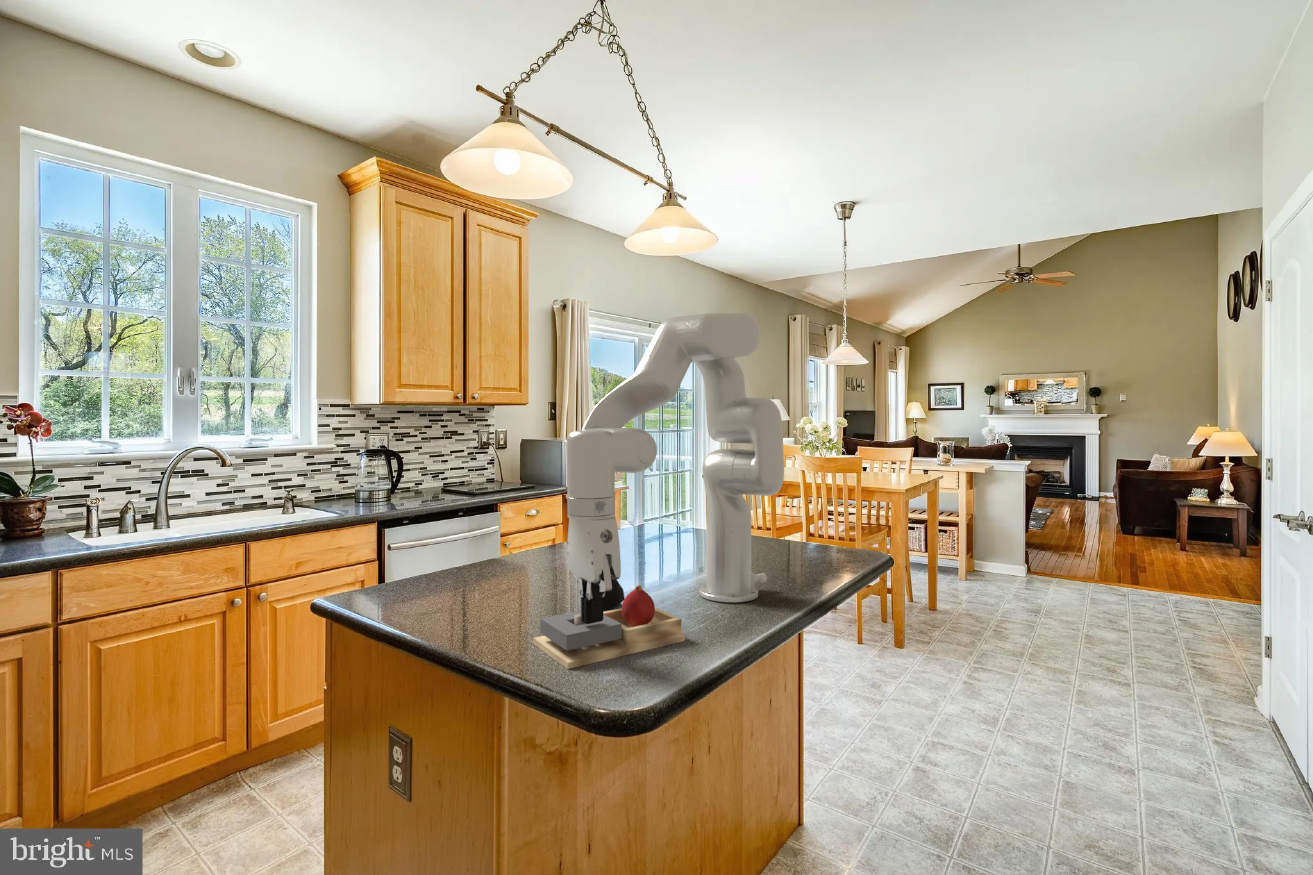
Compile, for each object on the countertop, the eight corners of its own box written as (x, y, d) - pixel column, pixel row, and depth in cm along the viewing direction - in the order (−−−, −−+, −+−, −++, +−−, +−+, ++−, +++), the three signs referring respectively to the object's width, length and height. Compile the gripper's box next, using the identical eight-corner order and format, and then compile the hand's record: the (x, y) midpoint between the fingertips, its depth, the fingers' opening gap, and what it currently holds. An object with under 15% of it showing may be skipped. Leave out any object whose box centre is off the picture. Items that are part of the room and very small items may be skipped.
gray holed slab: (592, 622, 108) (592, 608, 108) (621, 638, 100) (621, 623, 100) (540, 632, 103) (540, 618, 103) (566, 650, 95) (566, 635, 95)
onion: (616, 627, 109) (617, 582, 109) (647, 623, 112) (647, 579, 111) (628, 637, 104) (628, 590, 104) (659, 633, 106) (660, 587, 106)
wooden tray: (643, 620, 116) (643, 591, 116) (684, 640, 106) (684, 608, 106) (533, 643, 104) (533, 611, 104) (567, 669, 93) (567, 632, 93)
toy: (619, 614, 117) (595, 538, 117) (586, 623, 118) (562, 548, 119) (633, 597, 128) (612, 528, 129) (603, 606, 129) (582, 537, 130)
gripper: (636, 511, 95) (637, 629, 95) (589, 500, 107) (590, 605, 108) (593, 515, 91) (594, 639, 91) (549, 504, 103) (550, 613, 103)
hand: (592, 621), depth 99 cm, fingers closed
